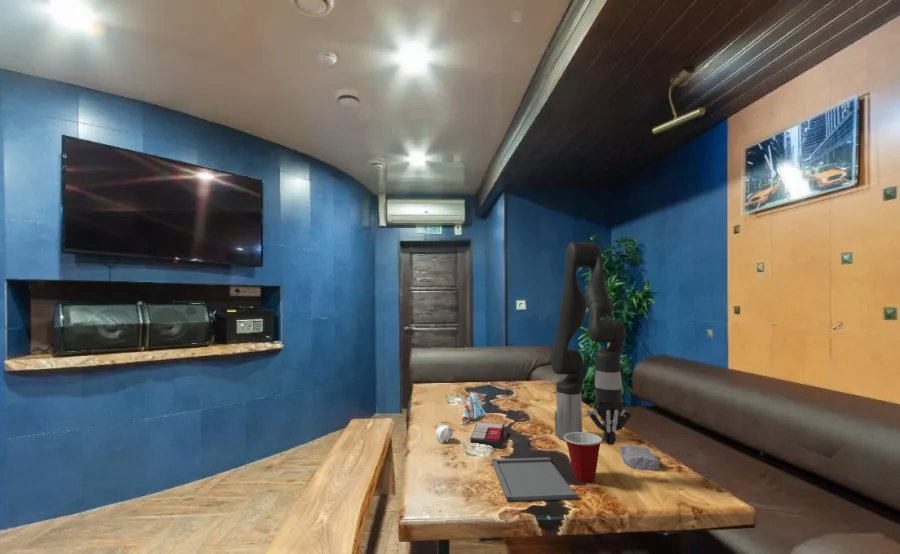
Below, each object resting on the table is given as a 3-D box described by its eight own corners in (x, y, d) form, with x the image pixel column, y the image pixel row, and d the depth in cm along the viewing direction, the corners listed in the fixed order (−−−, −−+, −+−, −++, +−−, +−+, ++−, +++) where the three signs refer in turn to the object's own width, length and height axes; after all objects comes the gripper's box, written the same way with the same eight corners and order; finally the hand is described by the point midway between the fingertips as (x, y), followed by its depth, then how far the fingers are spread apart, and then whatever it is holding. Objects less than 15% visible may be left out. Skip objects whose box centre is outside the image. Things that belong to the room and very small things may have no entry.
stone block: (629, 475, 111) (663, 471, 109) (625, 459, 111) (658, 455, 110) (618, 460, 122) (649, 456, 120) (615, 445, 123) (645, 441, 121)
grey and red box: (470, 436, 129) (476, 420, 143) (470, 448, 129) (476, 431, 143) (500, 439, 126) (504, 422, 141) (500, 451, 126) (504, 433, 141)
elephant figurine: (457, 441, 133) (457, 425, 133) (440, 447, 128) (440, 430, 128) (447, 435, 138) (447, 420, 138) (430, 441, 133) (430, 424, 134)
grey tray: (549, 461, 116) (549, 457, 116) (577, 499, 94) (577, 494, 94) (492, 463, 115) (492, 459, 115) (507, 501, 93) (507, 497, 93)
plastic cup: (579, 465, 113) (578, 427, 114) (611, 480, 104) (609, 438, 105) (556, 475, 107) (556, 434, 108) (588, 491, 98) (586, 446, 99)
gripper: (622, 382, 112) (623, 438, 111) (581, 383, 111) (583, 439, 110) (636, 388, 105) (638, 448, 104) (592, 389, 104) (594, 450, 103)
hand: (609, 443), depth 107 cm, fingers closed
